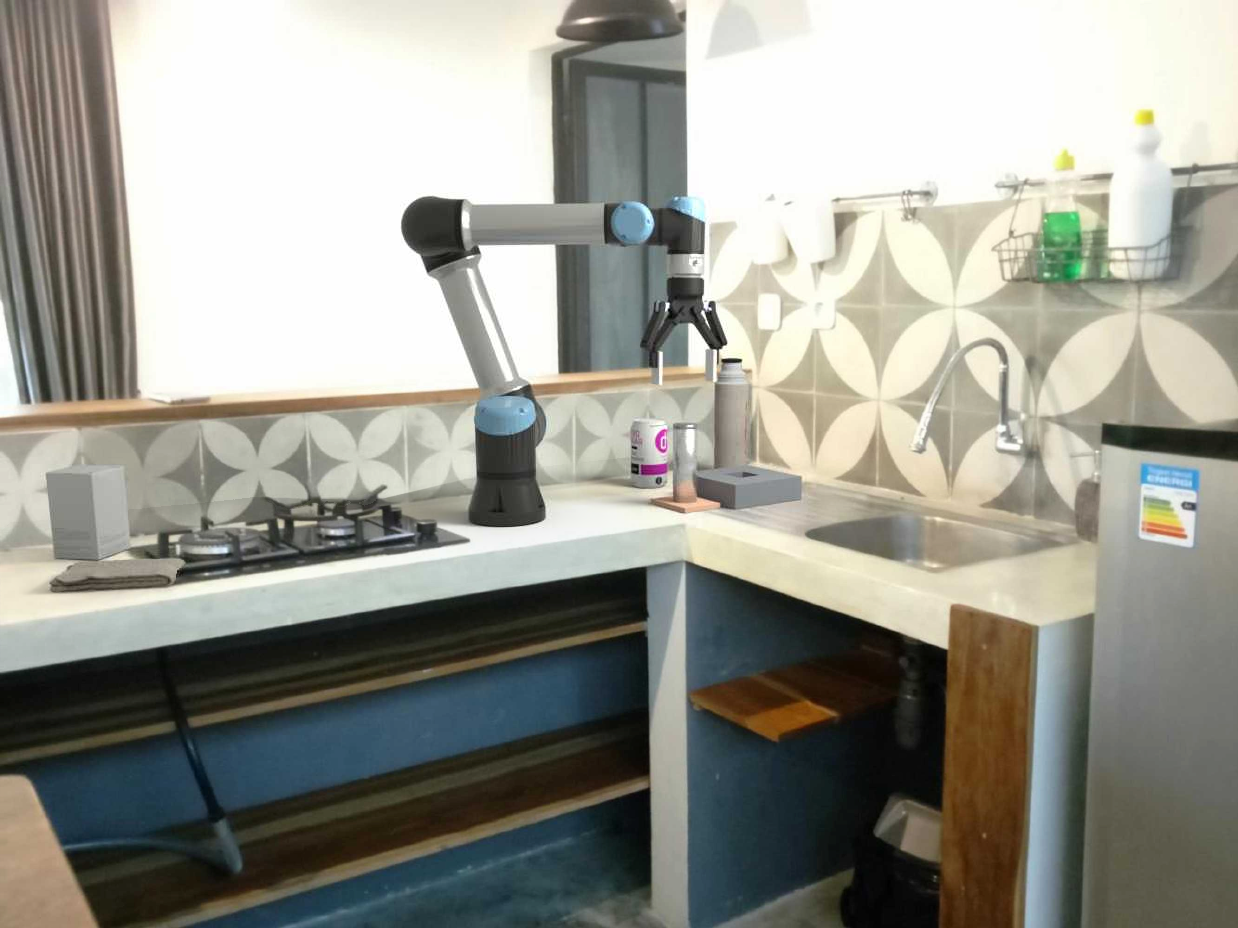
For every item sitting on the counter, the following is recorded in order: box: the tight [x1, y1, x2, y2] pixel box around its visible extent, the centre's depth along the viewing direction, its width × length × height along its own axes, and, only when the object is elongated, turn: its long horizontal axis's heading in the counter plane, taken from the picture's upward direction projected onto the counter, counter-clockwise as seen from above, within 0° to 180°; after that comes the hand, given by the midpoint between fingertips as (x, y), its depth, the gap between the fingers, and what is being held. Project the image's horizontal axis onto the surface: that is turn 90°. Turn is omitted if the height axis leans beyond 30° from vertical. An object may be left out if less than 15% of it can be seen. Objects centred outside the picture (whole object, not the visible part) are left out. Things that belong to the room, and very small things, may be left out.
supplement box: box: [45, 464, 132, 561], centre depth 187 cm, size 9×9×15 cm
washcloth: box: [49, 557, 186, 593], centre depth 171 cm, size 12×18×3 cm, turn 101°
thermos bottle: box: [713, 357, 750, 469], centre depth 257 cm, size 8×8×28 cm
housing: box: [697, 464, 803, 510], centre depth 233 cm, size 18×18×5 cm
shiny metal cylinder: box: [672, 422, 698, 503], centre depth 224 cm, size 5×5×16 cm
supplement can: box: [630, 417, 668, 489], centre depth 247 cm, size 8×8×15 cm
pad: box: [650, 495, 721, 514], centre depth 225 cm, size 9×12×1 cm
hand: (684, 382), depth 221 cm, fingers open, 13 cm apart
